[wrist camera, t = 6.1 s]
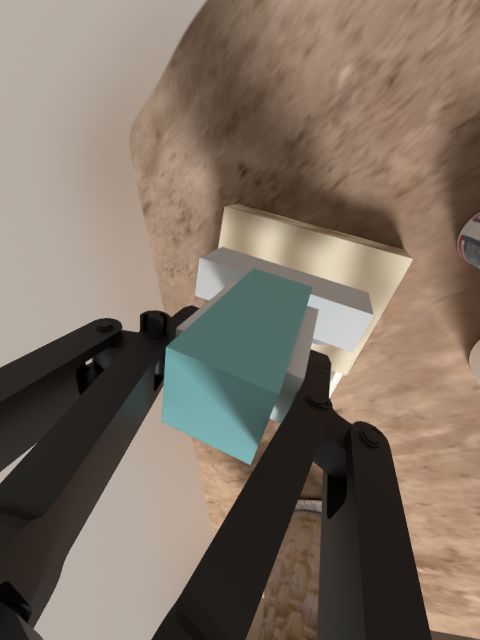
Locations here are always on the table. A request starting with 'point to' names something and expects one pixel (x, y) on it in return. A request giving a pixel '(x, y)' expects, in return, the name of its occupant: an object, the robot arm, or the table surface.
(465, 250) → the pill bottle
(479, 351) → the cup
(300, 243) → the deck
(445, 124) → the table surface
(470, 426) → the table surface
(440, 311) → the table surface
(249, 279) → the teal and white t-block
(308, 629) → the cookie jar
